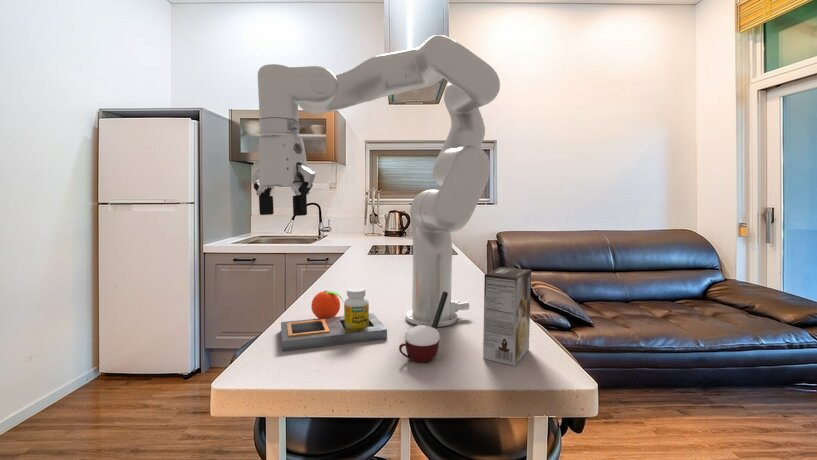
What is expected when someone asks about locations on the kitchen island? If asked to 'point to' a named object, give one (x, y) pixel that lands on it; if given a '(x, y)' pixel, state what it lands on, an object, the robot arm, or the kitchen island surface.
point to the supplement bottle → (356, 309)
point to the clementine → (326, 304)
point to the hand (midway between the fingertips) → (283, 215)
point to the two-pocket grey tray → (328, 332)
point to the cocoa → (424, 338)
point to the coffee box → (506, 315)
